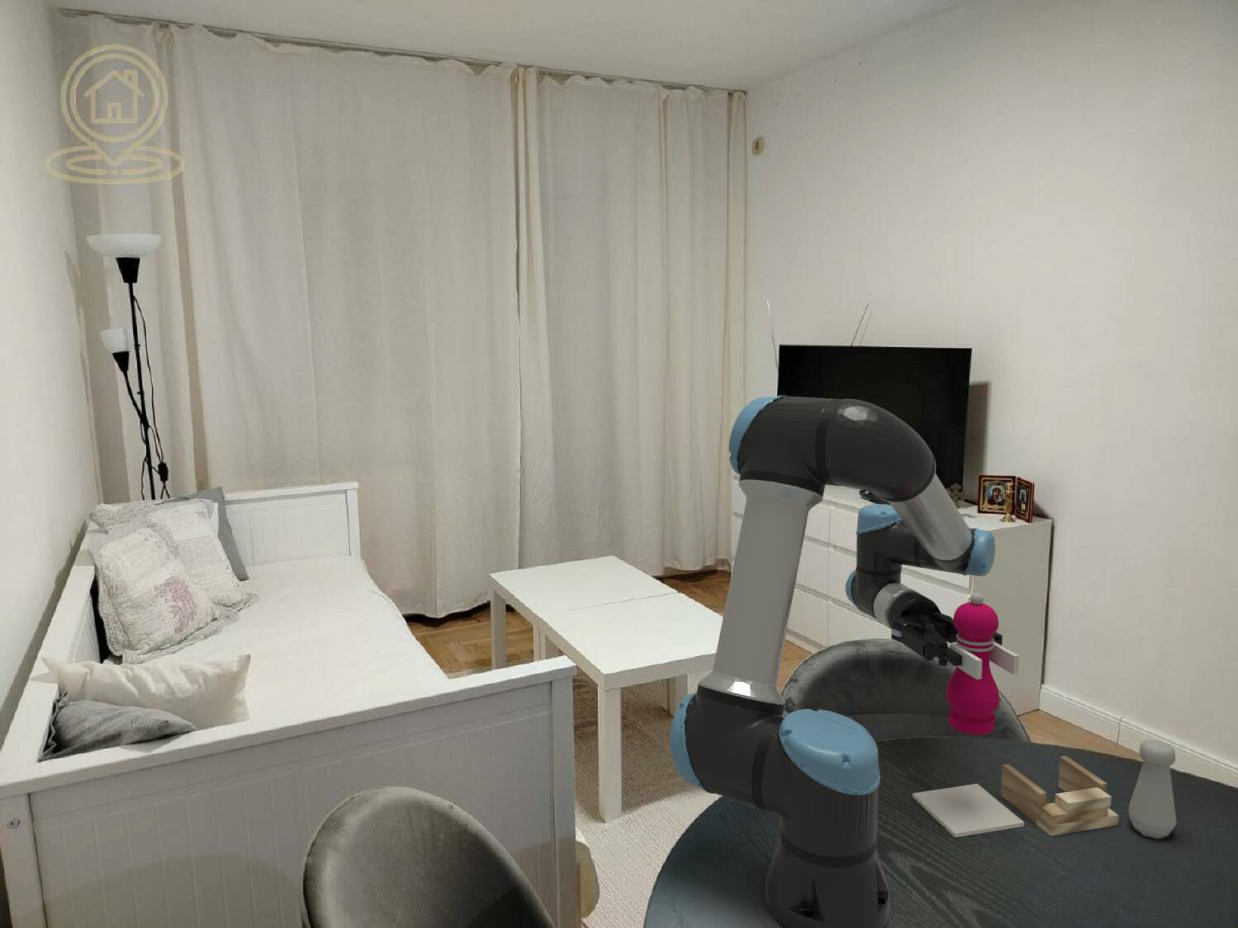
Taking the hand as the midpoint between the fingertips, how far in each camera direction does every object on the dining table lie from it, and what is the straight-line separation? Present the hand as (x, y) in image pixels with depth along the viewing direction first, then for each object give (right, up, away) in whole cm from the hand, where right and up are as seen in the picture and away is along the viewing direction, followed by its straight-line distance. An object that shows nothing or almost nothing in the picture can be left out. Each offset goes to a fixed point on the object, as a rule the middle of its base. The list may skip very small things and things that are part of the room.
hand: (997, 667), depth 121 cm
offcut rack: (+12, -23, +9) cm, 28 cm away
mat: (-1, -23, +9) cm, 25 cm away
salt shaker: (+23, -24, +3) cm, 33 cm away
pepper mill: (-1, -10, +7) cm, 12 cm away
